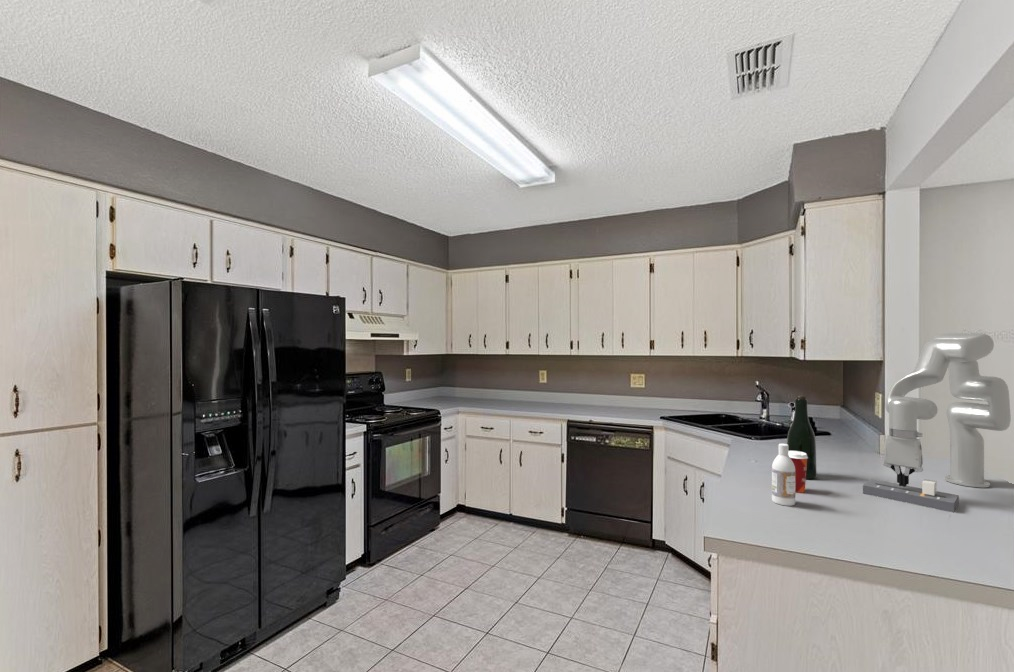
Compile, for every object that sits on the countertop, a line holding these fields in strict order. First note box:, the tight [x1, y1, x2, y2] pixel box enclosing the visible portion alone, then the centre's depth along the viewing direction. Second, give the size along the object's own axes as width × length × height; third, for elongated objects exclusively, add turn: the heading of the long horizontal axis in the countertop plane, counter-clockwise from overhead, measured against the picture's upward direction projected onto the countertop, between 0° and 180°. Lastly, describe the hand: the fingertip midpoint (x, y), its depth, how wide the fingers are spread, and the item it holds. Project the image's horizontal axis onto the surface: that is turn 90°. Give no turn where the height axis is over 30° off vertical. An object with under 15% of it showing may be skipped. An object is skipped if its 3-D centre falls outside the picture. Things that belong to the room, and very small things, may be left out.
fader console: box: [862, 478, 960, 513], centre depth 163 cm, size 12×24×3 cm, turn 40°
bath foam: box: [771, 443, 796, 507], centre depth 159 cm, size 7×7×20 cm
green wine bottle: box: [786, 395, 818, 480], centre depth 190 cm, size 10×10×33 cm
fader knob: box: [921, 478, 938, 496], centre depth 159 cm, size 5×3×4 cm, turn 130°
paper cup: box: [788, 451, 808, 494], centre depth 172 cm, size 8×8×14 cm
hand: (902, 485), depth 164 cm, fingers closed
